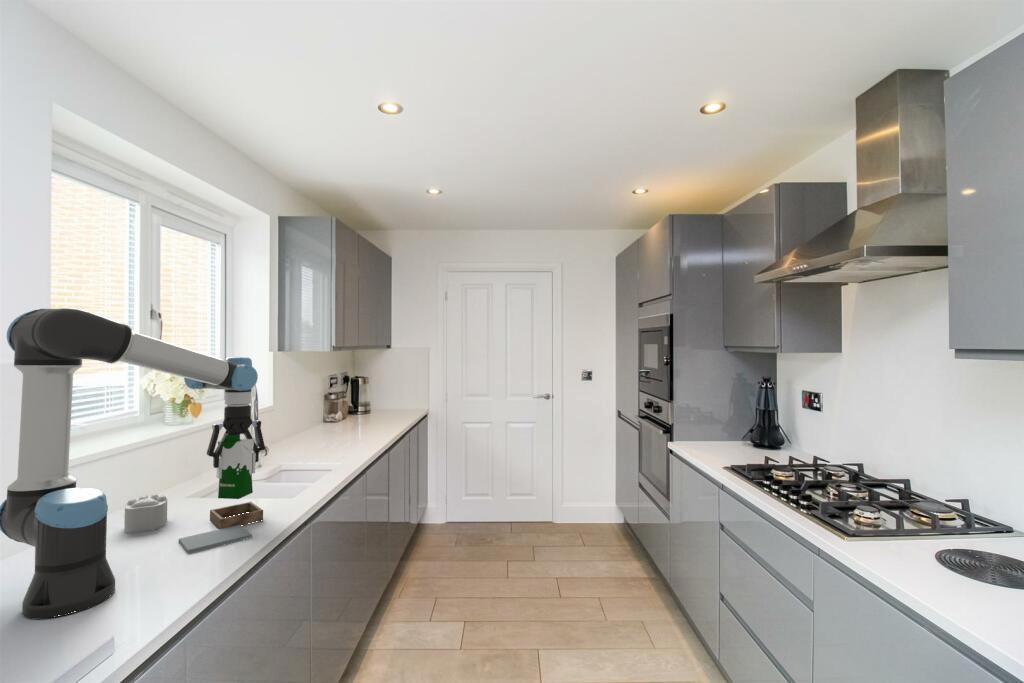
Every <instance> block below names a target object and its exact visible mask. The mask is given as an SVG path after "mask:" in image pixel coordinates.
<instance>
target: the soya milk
mask: <svg viewBox="0 0 1024 683" xmlns="http://www.w3.org/2000/svg"><path fill="white" fill-rule="evenodd" d="M225 437H226V439H225V440H226V441H224V442H223V441H221V440H219V441H218V440H217V447H218V446H220V445H221V443H222V442H223V449H222V453H221V454H220V457H222V478H221V479H219V478H218V491H217V494H218V495H217V499H225V500H226V499H228V500H230V499H231V500H239V499H243V498H244V497H246V496H248V495H251V494H253V493H254V492H253V491H254V490H253V473H252V452H253V446H254V441H255V442H256V437H252V438H253V439H247V438H246V437H241V434H232V435H226V436H225Z"/></svg>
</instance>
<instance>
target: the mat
mask: <svg viewBox="0 0 1024 683" xmlns="http://www.w3.org/2000/svg"><path fill="white" fill-rule="evenodd" d="M250 537H252V538H253V533H251V532H250V531H249V530H248V529H246V527H244V526H241V525H236V526H232V527H227V528H223V529H215V530H211V531H206V532H202V533H197V534H194V535H189V536H183V537H181V538H178V544H180V546H181V547H182V548H183V549H184V551H185V552H186V553H187V555H189V554H193V553H196V552H200V551H205V550H209V549H212V548H216V547H220V546H224V544H225V545H228V543H229V544H231V542H233V543H236V542H235V541H237V542H240V540H241V541H244V540H243V539H245V540H247V539H246V538H249V539H251V538H250Z"/></svg>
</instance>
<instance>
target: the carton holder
mask: <svg viewBox="0 0 1024 683" xmlns="http://www.w3.org/2000/svg"><path fill="white" fill-rule="evenodd" d="M246 512H249V513H246ZM242 513H244V514H242ZM238 514H240V515H238ZM233 515H235V516H233ZM229 516H231V517H229ZM225 517H226V518H225ZM261 520H263V521H264V510H263V508H261V507H260V506H258V505H257V504H255V503H254V502H252V501H248V502H243V503H238V504H237V503H236V504H232V505H227V506H223V507H218V508H217V507H216V508H213V509H209V521H211V522H212V525H214V527H215V528H217V530H219V529H223V528H227V527H232V526H236V525H244V526H246V525H245V524H248V523H252V522H256V521H261ZM211 522H210V523H211ZM261 522H262V521H261ZM248 525H249V524H248Z"/></svg>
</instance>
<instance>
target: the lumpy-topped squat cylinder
mask: <svg viewBox="0 0 1024 683" xmlns="http://www.w3.org/2000/svg"><path fill="white" fill-rule="evenodd" d="M166 522H167V523H168V498H167V496H166V495H158V494H157V493H153V494H151V495H150V496H149V495H146V494H143V495H141V496H140V497H138V498H130V499H129V500H128V501H127V504H125V507H124V531H125V532H124V533H126V532H128V533H127V534H133V533H132V532H134V533H139V531H140V532H145V531H146V530H147V531H153V529H155V530H158V528H159V529H160V528H163V527H165V525H167V523H166ZM130 532H131V533H130Z"/></svg>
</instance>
